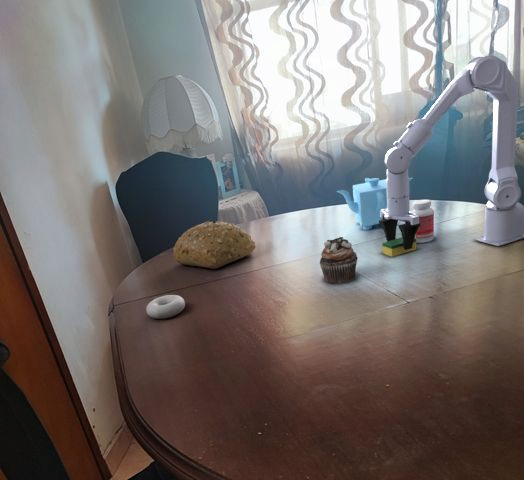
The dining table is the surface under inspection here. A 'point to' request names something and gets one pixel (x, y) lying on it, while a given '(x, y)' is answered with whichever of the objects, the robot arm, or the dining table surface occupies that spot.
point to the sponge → (396, 247)
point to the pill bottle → (424, 221)
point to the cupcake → (338, 261)
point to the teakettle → (368, 201)
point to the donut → (165, 306)
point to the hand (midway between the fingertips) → (399, 246)
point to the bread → (212, 245)
